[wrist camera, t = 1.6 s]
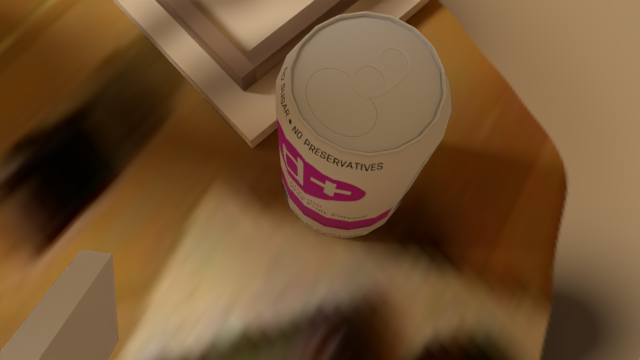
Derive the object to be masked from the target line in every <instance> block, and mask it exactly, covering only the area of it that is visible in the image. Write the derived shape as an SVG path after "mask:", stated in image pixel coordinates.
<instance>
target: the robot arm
mask: <svg viewBox="0 0 640 360" xmlns="http://www.w3.org/2000/svg"><path fill="white" fill-rule="evenodd" d="M118 341H119V336H118V322H117V309H116V296H115V282H114V269H113V256H112V253H104V252H96V251H88V250H80V251H79V253H78V254H77V255H76V256H75V258H74V259H73V260H72V261H71V263H70V264H69V265H68V267H67V268H66V269H65V270H64V272H63V273H62V274H61V275H60V277H59V278H58V279H57V280H56V282H55V283H54V284H53V285H52V287H51V288H50V289H49V290H48V292H47V293H46V294H45V296H44V297H43V298H42V299H41V301H40V302H39V303H38V304H37V306H36V307H35V308H34V309H33V311H32V312H31V313H30V314H29V316H28V317H27V318H26V320H25V321H24V322H23V323H22V325H21V326H20V327H19V328H18V330H17V331H16V332H15V333H14V335H13V336H12V337H11V338H10V340H9V341H8V342H7V344H6V345H5V346H4V347H3V349H2V350H1V351H0V360H108V359H109V357H110V355H111V353H112V352H113V350H114V348H115V346H116V344H117V342H118ZM639 360H640V359H639Z"/></svg>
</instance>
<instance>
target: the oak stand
mask: <svg viewBox="0 0 640 360" xmlns="http://www.w3.org/2000/svg"><path fill="white" fill-rule="evenodd" d="M112 1H113V2H114V3H115V4H116V5H117V6H118V7H119V8H120V9H121V11H122V12H123V13H124V14H125V15H126V16H127V17H128V18H129V19H130V20H131V21H132V22H133V23H134V24H135V25H136V26H137V27H138V28H139V30H140V31H141V32H142V33H143V34H144V35H145V36H146V37H147V38H148V39H149V40H150V41H151V42H152V43H153V44H154V45H155V46H156V47H157V49H158V50H159V51H160V52H161V53H162V54H163V55H164V56H165V57H166V58H167V59H168V60H169V61H170V62H171V63H172V64H173V65H174V66H175V67H176V69H177V70H178V71H179V72H180V73H181V74H182V75H183V76H184V77H185V78H186V79H187V80H188V81H189V82H190V83H191V84H192V85H193V86H194V88H195V89H196V90H197V91H198V92H199V93H200V94H201V95H202V96H203V97H204V98H205V99H206V100H207V101H208V102H209V103H210V104H211V105H212V107H213V108H214V109H215V110H216V111H217V112H218V113H219V114H220V115H221V116H222V117H223V118H224V119H225V120H226V121H227V122H228V123H229V124H230V126H231V127H232V128H233V129H234V130H235V131H236V132H237V133H238V134H239V135H240V136H241V137H242V138H243V139H244V140H245V141H246V142H247V143H248V145H249V146H250V147H251V148H252V149H253V148H254V147H255V146H256V145H257V144H259V143H260V142H261V141H262V140H263V139H265V138H266V137H267V136H268V135H269V134H271V133H272V132H273V131H274V130H275V129H277V118H276V80H277V77H278V75H279V73H280V70H281V68H282V66H283V63H284V61H285V59H286V56H287V55H288V54H289V53H290V52H291V51H292V49H293V48H294V47H295V46H296V45H297V44H298V43H299V42H300V41H301V40H302V39H303V38H304V37H305V36H306V35H307V34H309V33H310V32H311V31H312V30H313V29H314V28H315V27H316V26H317V25H319V24H321V23H323V22H325V21H327V20H329V19H331V18H333V17H336V16H338V15H341V14H348V13H356V12H363V11H367V12H373V13H379V14H385V15H391V16H393V17H395V18H397V19H399V20H401V21H403V22H405V21H407V20H408V19H409V18H410V17H411V16H413V15H414V14H415V13H416V12H417V11H419V10H420V9H421V8H422V7H423V6H425V5H426V4H427V3H428V2H429V1H430V0H112Z"/></svg>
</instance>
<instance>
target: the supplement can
mask: <svg viewBox="0 0 640 360" xmlns="http://www.w3.org/2000/svg"><path fill="white" fill-rule="evenodd" d="M451 111H452V109H451V97H450V84H449V81H448V79H447V77H446V75H445V69H444V67H443V65H442V63H441V61H440V58H439V56H438V54H437V52H436V50H435V48H434V46H433V45H432V44H431V43H430V42H429V41H428V40H427V39H426V38H425V37H424V36H423V35H422V34H421V33H420V32H419V31H418V30H417V29H416V28H415V27H413V26H411V25H409V24H407V23H405V22H403V21H401V20H399V19H397V18H395V17H393V16H391V15H385V14H379V13H373V12H367V11H363V12H356V13H348V14H341V15H338V16H336V17H333V18H331V19H329V20H327V21H325V22H323V23H321V24H319V25H317V26H316V27H315V28H314V29H313V30H312V31H311V32H310V33H309V34H307V35H306V36H305V37H304V38H303V39H302V40H301V41H300V42H299V43H298V44H297V45H296V46H295V47H294V48H293V49H292V51H291V52H290V53H289V54H288V55H287V56H286V59H285V61H284V63H283V66H282V68H281V70H280V73H279V75H278V77H277V80H276V118H277V129H278V140H279V150H280V161H281V171H282V182H283V189H284V192H285V195H286V198H287V200H288V203H289V206H290V208H291V209H292V210H293V212H294V213H295V214H296V215H297V216H298V217H299V219H300V220H301V221H302V222H303V223H304V224H305V225H307V226H309V227H311V228H312V229H314V230H316V231H318V232H319V233H321V234H323V235H329V236H334V237H340V238H349V237H355V236H360V235H366V234H367V233H369V232H371V231H373V230H374V229H376V228H378V227H380V226H381V225H383V224H384V223H385V222H386V221H387V220H388V218H389V217H390V216H391V215H392V213H393V212H394V211H395V210H396V209H397V207H398V206H399V204H400V203H401V201H402V200H403V198H404V197H405V195H406V194H407V192H408V190H409V189H410V187H411V186H412V184H413V183H414V181H415V180H416V178H417V177H418V175H419V174H420V172H421V171H422V169H423V168H424V166H425V165H426V163H427V162H428V160H429V159H430V157H431V155H432V154H433V152H434V151H435V149H436V148H437V146H438V145H439V143H440V142H441V140H442V139H443V137H444V133H445V130H446V127H447V124H448V121H449V118H450V114H451Z"/></svg>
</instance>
